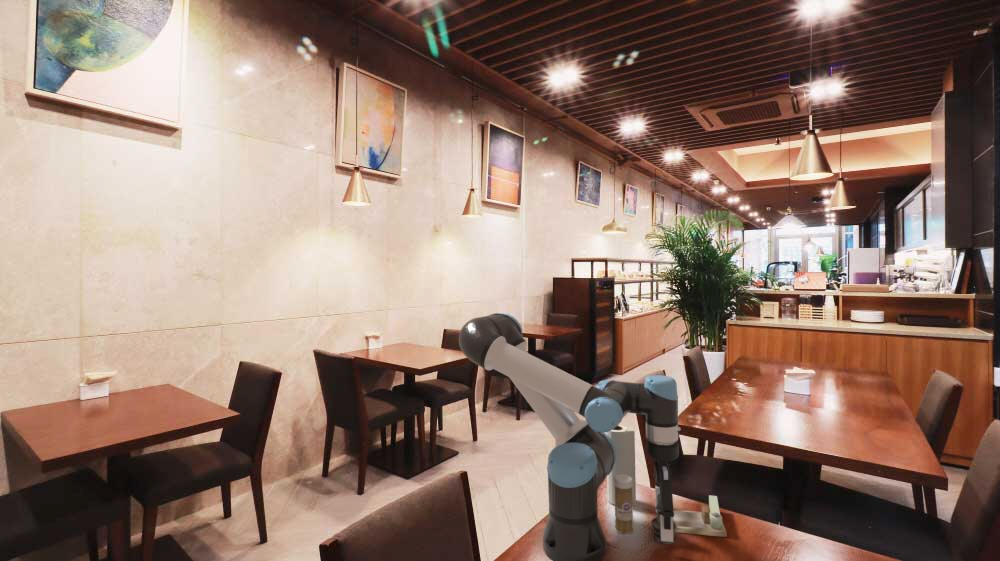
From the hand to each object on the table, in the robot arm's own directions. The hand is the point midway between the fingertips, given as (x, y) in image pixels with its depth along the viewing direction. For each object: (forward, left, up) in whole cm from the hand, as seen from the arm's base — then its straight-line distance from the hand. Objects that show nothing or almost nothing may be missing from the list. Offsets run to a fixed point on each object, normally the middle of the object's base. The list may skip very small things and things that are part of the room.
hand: (664, 525), depth 116 cm
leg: (+14, +10, -2) cm, 17 cm away
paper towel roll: (-11, +16, -3) cm, 19 cm away
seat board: (+9, +8, -3) cm, 12 cm away
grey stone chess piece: (0, 0, -3) cm, 3 cm away
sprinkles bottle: (-10, +2, -3) cm, 10 cm away
